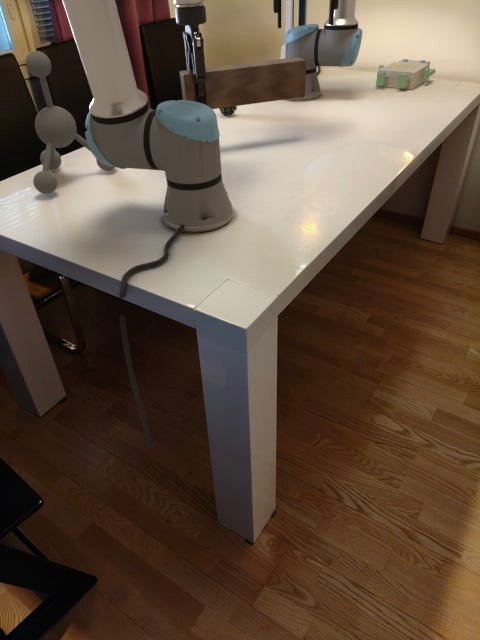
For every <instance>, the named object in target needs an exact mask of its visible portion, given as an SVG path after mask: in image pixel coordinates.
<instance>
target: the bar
mask: <svg viewBox="0 0 480 640" xmlns="http://www.w3.org/2000/svg"><path fill="white" fill-rule="evenodd" d="M205 69H206V78H207V79H206V81H205V90H206V102H207V106H209V107H210V108H211V109H212V110H217V109H219V108H225V107H233V106H235V107H236V106H237V107H238V106H239V107H240V106H246V105H254V104H262V103H268V102H275V101H284V100H285V99H292V98H299V97H305V78H306V60H304V59H302V58H300V57H295V58H287V59H280V58H279V59H271V60H263V61H255V62H245V63H237V64H236V63H235V64H229V65H220V66H212V67H211V66H210V67H205ZM199 77H200V76H199ZM179 79H180V86H181V95H182V96H181V97H182V100H187V101H194V102H196V97H195V87H194V84H193V83H192V81H195V78H194V71H193V70H187V69H186V70H180V71H179ZM285 101H286V100H285Z"/></svg>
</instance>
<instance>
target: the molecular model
mask: <svg viewBox="0 0 480 640" xmlns="http://www.w3.org/2000/svg"><path fill="white" fill-rule="evenodd" d="M25 66H26V69H27V70H28V72H29V73H30V74H31V75H32V76H33V77H35V78H39V83H40V87H41V89H42V93H43V97H44V100H45V105H46V107H44V108H42V109H40V111H39V112H38V113H37V114H36V117H35V121H34V129H35V132H36V134H37V136H38V138H39V139H40V140H41V141H42V143H43V144H45V149H44V150H43V151H42V152H41V153H40V156H39V160H40V164H41V165H42V170H40V171H38V172H37V173H35V175H34V176H33V180H32V181H33V182H32V183H33V186H34V188H35V190H36V191H37V192H39V193H41V194H43V195H50V194H52V193H54V192H55V191H56V189H57V187H58V180H57V177H56V176H55V175H54V173H52V172H50V171H55V170H57V169H59V168H60V167H61V165H62V156H61V154H60V153H59V152H58V151H57V150H55V149H62V148H63V149H64V148H67V147H68V146H70V145H71V144H72V143H73V142H74V140H75V141H77V143H79V144H80V145H82V146H83V147H84V148H86V150H88V151H89V152H91V150H90V148H89V146H88V143H87V140H86V138H83V136H81V135H79V133H77V130H78V128H77V127H78V126H77V123H76V119H75V118H74V117H73V115H72V114H71V112H69V111H68V110H67V109H65V108H63V107H61V106H57V105H54V102H53V99H52V96H51V92H50V87H49V84H48V81H47V77H48V76H49V74H50V73H51V71H52V62H51V60H50V57H48V55H47V54H45V53H44V52H43V51H40V50H34V51H31V52H29V53H28V54H27V56H26V57H25ZM95 159H96V158H95ZM96 164H97V166H98V167H99V168H100V169H101V170H102V171H105V172H110V171H113V170H114V169H116V167H111V166H107V165H104V164H102V163H101V162H99V161H98V160H97V159H96Z"/></svg>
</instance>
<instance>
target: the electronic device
mask: <svg viewBox="0 0 480 640" xmlns="http://www.w3.org/2000/svg"><path fill="white" fill-rule="evenodd" d="M297 21H298V23H297V24H298V26H302V25H308V0H298V20H297ZM294 22H295V0H285V33H286V32H287V31H288V30H289V29H291V28H294V27H295V26H294V25H295V23H294ZM279 59H285V43H283V45H282V46H281V48H280V57H279Z"/></svg>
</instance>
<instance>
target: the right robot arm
mask: <svg viewBox="0 0 480 640" xmlns="http://www.w3.org/2000/svg"><path fill="white" fill-rule="evenodd" d="M272 3H273V4H272V5H273V6H272V9H273V13H274V14H277V28H278V29H282V0H272ZM356 3H357V0H329V8H328V18H327V19H326V20H325V22H324V24H323V28H320V25H319V24H318V23H309V24H308V23H307V25H302V26H294V28H291V29H289V30H288V31H287V32H286V31H285V41H284V44H285V59H287V58H295V57H300V58H302V59H304V60H306V78H305V97H299V98H292V99H285V101H292V102H304V101H305V102H306V101H311V100H316V99H318V98H320V97H321V91H322V90H321V86H320V81H319V78H318V75H319V73H320V72H321V70H322V69H321V67H340V68H343V67H352V66H353V65H355V63H356V61H357V60H358V56H359V53H360V49H361V46H362V45H361V44H362V38H363V29H362V28H360V27H359V21H358V19H357V18H356V16H355V14H356ZM317 69H318V70H317Z"/></svg>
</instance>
